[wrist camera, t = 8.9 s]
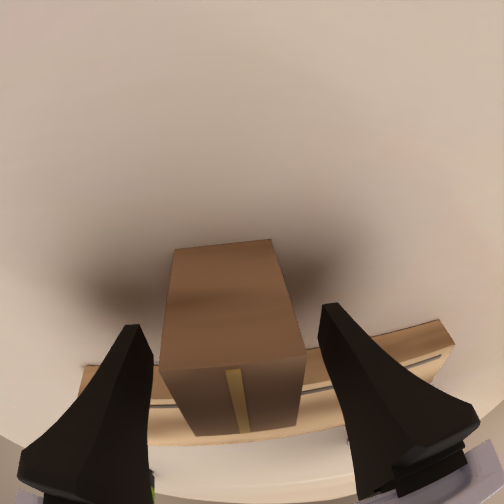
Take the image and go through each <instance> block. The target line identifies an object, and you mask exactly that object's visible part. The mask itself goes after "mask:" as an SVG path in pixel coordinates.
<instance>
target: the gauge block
mask: <svg viewBox="0 0 504 504" xmlns="http://www.w3.org/2000/svg"><path fill="white" fill-rule="evenodd" d="M306 361H307V352H306V349H305V346H304V342H303V339H302V336H301V333H300V329H299V326H298V323H297V320H296V316H295V313H294V310H293V307H292V303H291V300H290V297H289V294H288V291H287V288H286V284H285V281H284V278H283V275H282V272H281V269H280V266H279V262H278V259H277V256H276V253H275V250H274V247H273V244H272V241H271V239H267V240H257V241H248V242H238V243H229V244H220V245H211V246H201V247H192V248H183V249H175V253H174V258H173V264H172V270H171V277H170V283H169V290H168V296H167V303H166V310H165V318H164V325H163V333H162V342H161V351H160V360H159V370H158V371H159V373H160V375H161V377H162V379H163V380H164V382H165V384H166V386H167V388H168V390H169V392H170V394H171V395H172V397H173V399H174V401H175V403H176V404H177V406H178V408H179V410H180V411H181V413H182V415H183V417H184V418H185V420H186V422H187V423H188V425H189V427H190V428H191V430H192V432H193V433H194V435H195V437H201V436H218V435H231V434H246V433H251V432H259V431H267V430H274V429H280V428H287V427H292V426H296V422H297V417H298V411H299V405H300V400H301V394H302V387H303V381H304V375H305V368H306Z"/></svg>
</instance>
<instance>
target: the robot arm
mask: <svg viewBox="0 0 504 504" xmlns="http://www.w3.org/2000/svg"><path fill="white" fill-rule="evenodd" d="M318 342H319V346H320V350H321V354H322V358H323V362H324V364H325V367H326V370H327V372H328V375H329V377H330V380H331V383H332V385H333V388H334V391H335V393H336V396H337V399H338V401H339V404H340V407H341V410H342V414H343V418H344V422H345V426H346V430H347V435H348V442H347V444H348V445H350V449H351V455H352V461H353V467H354V474H355V481H356V491H357V495H358V499H359V502H356V503H353V504H481V503H483V502H484V501H485V500H487V499H488V498H489V497H490V496H492V495H493V494H494V493H496V492H497V491H498V490H500V489H501V488H502V487H503V486H504V471H503V468H502V466H501V463H500V461H499V459H498V456H497V454H496V451H495V449H494V447H493V444H492V443H491V440H490V439H488V440H486V441H484V442H483V443H481V444H480V445H478V446H476V447H475V448H473V449H471V450H470V451H468V452H467V453H465V454H464V452H463V450H462V449H463V448H465V444H464V442H463V440H464V439H465V438H466V437H467V436H468V435H470V434H471V433H472V432H473V431H475V430H476V429H477V428H478V427H479V425H480V420H479V418H478V416H477V414H476V411H475V410H474V408H473V406H472V405H471V404H469V403H467V402H464V401H462V400H460V399H457V398H455V397H453V396H451V395H449V394H447V393H445V392H443V391H441V390H439V389H437V388H435V387H434V386H432V385H430V384H429V383H427V382H426V381H424V380H422V379H421V378H419V377H417V376H416V375H415V374H413V373H412V372H410V371H409V370H408V369H406V368H405V367H404V366H402V365H401V364H400V363H398V362H397V361H396V360H395V359H394V358H392V357H391V356H390V355H389V354H388V353H387V352H386V351H384V350H383V349H382V348H381V347H380V346H379V345H378V344H377V343H376V342H375V341H374V340H373V339H372V338H371V337H370V336H369V335H368V334H367V333H366V332H365V331H364V330H363V329H362V328H361V327H360V326H359V325H358V324H357V323H356V322H355V321H354V320H353V319H352V318H351V316H350V315H349V314H348V313H347V312H346V311H345V310H344V309H343V308H342V307H341V305H340V304H339V303H337V302H335V303H329V304H323V305H322V312H321V319H320V325H319V332H318ZM153 370H154V355H153V353H152V351H151V349H150V347H149V345H148V343H147V340H146V338H145V336H144V334H143V331H142V329H141V327H140V325H139V324H133V325H125V326H124V327H123V329H122V331H121V332H120V334H119V336H118V337H117V339H116V341H115V342H114V344H113V346H112V347H111V349H110V351H109V352H108V354H107V355H106V357H105V359H104V360H103V362H102V363H101V365H100V367H99V368H98V370H97V371H96V373H95V374H94V376H93V377H92V379H91V380H90V382H89V383H88V384H87V386H86V387H85V389H84V390H83V391H82V393H81V394H80V395H79V397H78V398H77V399H76V400H75V402H74V403H73V404H72V405H71V406H70V407H69V409H68V410H67V411H66V412H65V413H64V414H63V415H62V416H61V417H60V419H59V420H58V421H57V422H56V423H55V424H54V425H52V426H51V427H50V428H49V429H48V430H47V431H46V432H45V433H44V434H43V435H42V436H40V437H39V438H38V439H37V440H35V441H34V442H33V443H32V444H30V445H29V446H28V447H26V448H25V449H24V450H22V452H21V456H20V462H19V467H18V473H17V478H18V479H19V480H20V481H22V482H23V483H25V484H27V485H29V486H31V487H33V488H35V489H37V490H39V491H41V492H44V498H42V497H40V496H37V495H35V494H31V493H29V492H26V491H24V490H21V489H17V496H16V504H154V501H153V496H152V490H151V482H150V474H149V462H148V440H147V431H148V418H149V409H150V401H151V393H152V385H153ZM379 494H380V495H379ZM376 495H378V496H376ZM373 496H375V497H373ZM370 497H372V498H370ZM367 498H369V499H367ZM364 499H366V500H364ZM361 500H363V501H361Z"/></svg>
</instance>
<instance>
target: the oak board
mask: <svg viewBox="0 0 504 504" xmlns="http://www.w3.org/2000/svg"><path fill="white" fill-rule="evenodd" d="M371 338H372V339H373V340H374V341H375V342H376V343H377V344H378V345H379V346H380V347H381V348H382V349H383V350H384V351H386V352H387V353H388V354H389V355H390V356H391V357H392V358H394V359H395V360H396V361H397V362H398V363H400V364H401V365H402V366H404V367H405V368H406V369H408V370H409V371H410V372H412V373H413V374H415V375H416V376H417V377H419V378H421V379H422V380H424V381H426V382H427V383H429V384H430V382H431V381H432V379H433V378H434V376H435V375H436V373H437V372H438V371H439V369H440V368H441V366H442V364H443V363H444V361H445V360H446V358H447V357H448V355H449V354H450V352H451V350H452V349H453V347H454V345H455V343H454V341H453V340H452V338H451V337H450V335H449V333H448V332H447V330H446V329H445V327H444V326H443V324H442V323H441V321H440V320H436V321H433V322H429V323H426V324H422V325H419V326H415V327H411V328H408V329H404V330H400V331H396V332H392V333H388V334H384V335H379V336H375V337H371ZM306 352H307V361H306V368H305V375H304V381H303V387H302V394H301V400H300V405H299V411H298V417H297V422H296V426H292V427H287V428H280V429H274V430H267V431H259V432H251V433H246V434H231V435H218V436H201V437H195V435H194V433H193V432H192V430H191V428H190V427H189V425H188V423H187V422H186V420H185V418H184V417H183V415H182V413H181V411H180V410H179V408H178V406H177V404H176V403H175V401H174V399H173V397H172V395H171V394H170V392H169V390H168V388H167V386H166V384H165V382H164V380H163V379H162V377H161V375H160V373H159V371H158V370H159V365H157V366H154V370H153V385H152V393H151V401H150V409H149V418H148V431H147V440H148V445H153V446H196V445H217V444H231V443H242V442H251V441H260V440H267V439H274V438H281V437H287V436H293V435H299V434H304V433H309V432H314V431H319V430H324V429H328V428H332V427H337V426H341V425H345V422H344V418H343V414H342V410H341V407H340V404H339V401H338V399H337V396H336V393H335V391H334V388H333V385H332V383H331V380H330V377H329V375H328V372H327V370H326V367H325V364H324V362H323V358H322V354H321V350H320V348H316V349H310V350H306ZM99 367H100V366H85V369H84V373H83V377H82V381H81V385H80V389H79V393H78V397H79V395H80V394H81V393H82V391H83V390H84V389H85V387H86V386H87V384H88V383H89V382H90V380H91V379H92V377H93V376H94V374H95V373H96V371H97V370H98V368H99Z"/></svg>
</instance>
